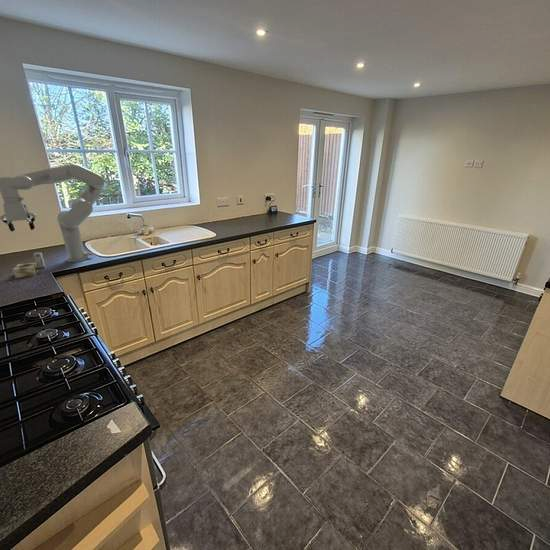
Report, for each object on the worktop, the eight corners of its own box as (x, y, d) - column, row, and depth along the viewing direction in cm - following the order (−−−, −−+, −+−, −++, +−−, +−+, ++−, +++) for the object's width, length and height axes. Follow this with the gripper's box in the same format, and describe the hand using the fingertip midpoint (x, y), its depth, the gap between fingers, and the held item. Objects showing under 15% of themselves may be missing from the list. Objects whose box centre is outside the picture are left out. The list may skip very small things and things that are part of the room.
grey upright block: (45, 265, 185) (41, 251, 182) (44, 268, 180) (39, 254, 177) (39, 266, 184) (35, 252, 180) (37, 269, 179) (32, 254, 175)
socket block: (46, 269, 179) (44, 261, 177) (43, 274, 171) (41, 265, 169) (19, 272, 173) (17, 264, 172) (15, 277, 166) (12, 269, 164)
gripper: (33, 198, 172) (42, 227, 179) (-3, 200, 167) (8, 230, 174) (27, 200, 166) (37, 230, 172) (-11, 202, 161) (1, 233, 168)
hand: (23, 230), depth 173 cm, fingers open, 9 cm apart
